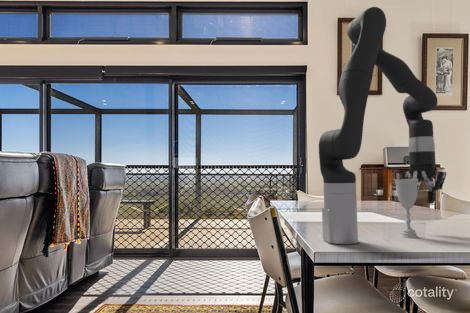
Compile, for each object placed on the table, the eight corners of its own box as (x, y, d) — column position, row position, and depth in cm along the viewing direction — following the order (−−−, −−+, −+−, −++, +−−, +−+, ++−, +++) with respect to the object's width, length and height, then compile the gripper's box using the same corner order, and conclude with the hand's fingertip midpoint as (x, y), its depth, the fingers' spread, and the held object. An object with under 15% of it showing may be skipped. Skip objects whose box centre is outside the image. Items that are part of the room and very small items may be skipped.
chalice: (425, 239, 93) (422, 179, 94) (400, 238, 94) (398, 179, 95) (416, 234, 100) (413, 178, 101) (393, 234, 101) (391, 179, 103)
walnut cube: (427, 204, 100) (426, 190, 100) (414, 203, 103) (414, 190, 103) (433, 203, 102) (432, 190, 102) (420, 202, 105) (420, 190, 105)
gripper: (450, 150, 100) (453, 203, 98) (406, 153, 112) (408, 201, 110) (439, 148, 96) (441, 204, 94) (394, 152, 108) (396, 201, 106)
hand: (423, 202), depth 102 cm, fingers closed on walnut cube, 4 cm apart
